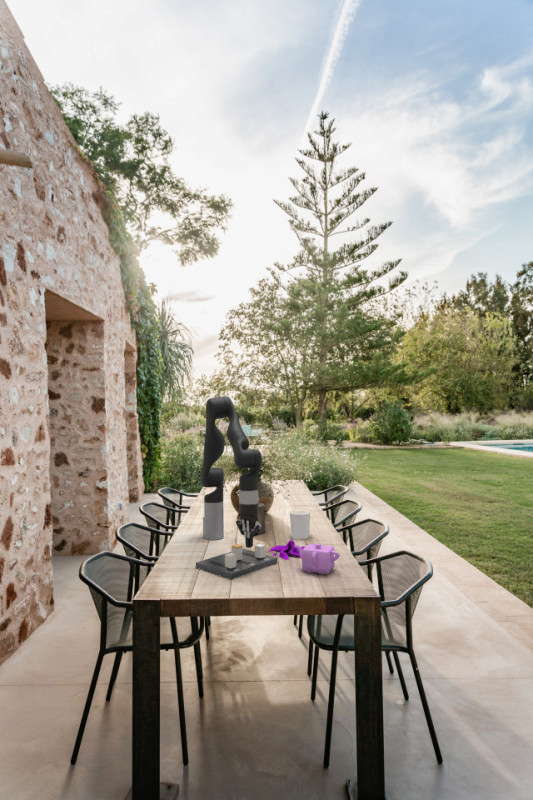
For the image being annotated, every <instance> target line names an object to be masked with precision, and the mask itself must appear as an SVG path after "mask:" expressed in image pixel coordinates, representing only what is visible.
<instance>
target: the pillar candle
mask: <svg viewBox="0 0 533 800" xmlns="http://www.w3.org/2000/svg"><path fill="white" fill-rule="evenodd" d="M265 509H266V508H265V503H261V502H259V513H258V515H257V517H258V522H259V523H260V524H262V525H263V527H262V529H261V530H260V532H259V533H258V535H262V534H265V533H266V517H265V516H266V513H265V511H266V510H265ZM264 532H265V533H264Z"/></svg>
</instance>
